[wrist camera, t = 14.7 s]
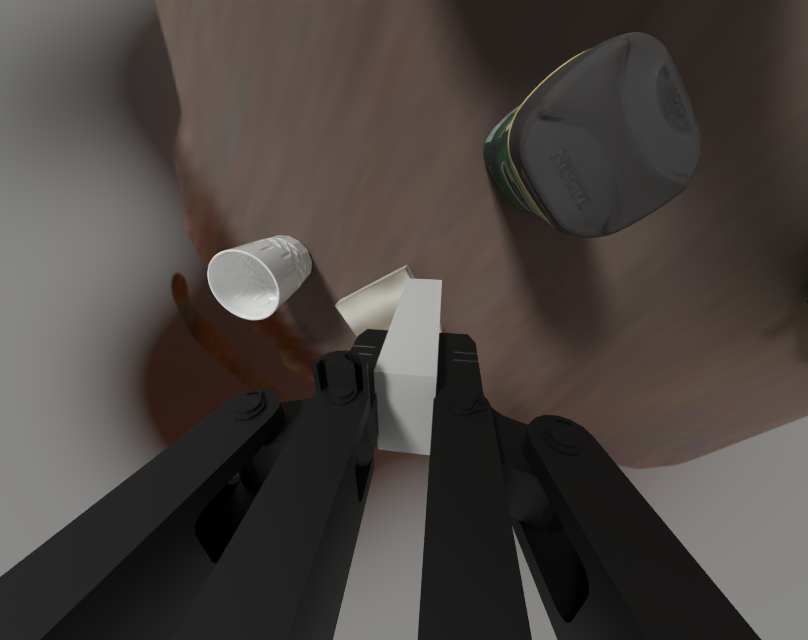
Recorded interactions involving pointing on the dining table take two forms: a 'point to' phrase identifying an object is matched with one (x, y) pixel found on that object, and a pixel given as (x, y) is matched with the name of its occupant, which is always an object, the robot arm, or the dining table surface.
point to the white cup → (259, 275)
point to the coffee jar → (599, 139)
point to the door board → (375, 303)
